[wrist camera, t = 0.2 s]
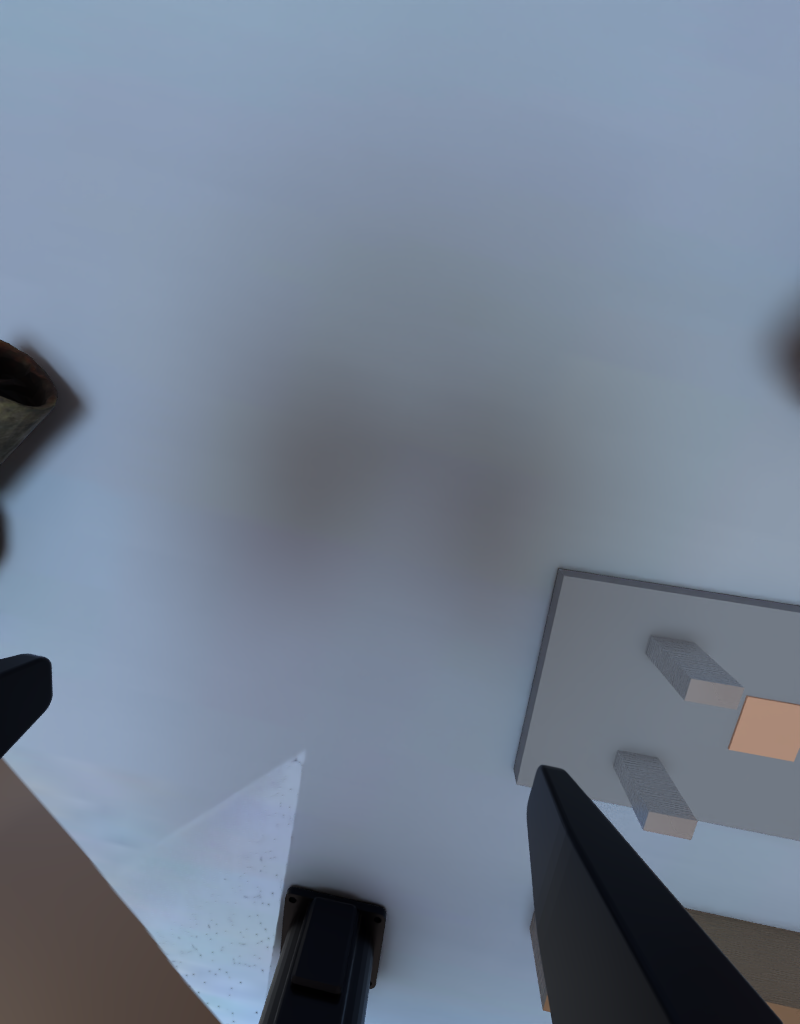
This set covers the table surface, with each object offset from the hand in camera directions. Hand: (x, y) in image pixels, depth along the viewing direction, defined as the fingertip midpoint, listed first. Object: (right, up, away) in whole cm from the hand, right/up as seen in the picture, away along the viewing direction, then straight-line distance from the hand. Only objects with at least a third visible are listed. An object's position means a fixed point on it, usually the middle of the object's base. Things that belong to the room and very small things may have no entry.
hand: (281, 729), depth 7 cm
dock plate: (+20, -6, +14) cm, 25 cm away
